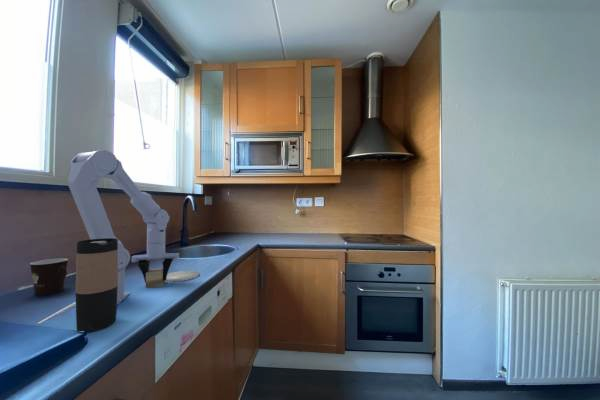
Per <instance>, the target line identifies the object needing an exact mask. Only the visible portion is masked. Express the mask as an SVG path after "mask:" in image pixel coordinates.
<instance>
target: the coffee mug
mask: <svg viewBox="0 0 600 400" xmlns="http://www.w3.org/2000/svg"><path fill="white" fill-rule="evenodd" d="M68 261H69V258H62V257H60V258H51V259H43V260H38V261H33V262H30V263H29V265H30V273H31V277H32V285H33V292H34V295H35V296H37V297H38V296H49V295H53V294H57V293H61V292H62V291H64V285H65V281H66V280H65V279H66V277H67V275H68V272H67V271H68V270H67V267H68Z"/></svg>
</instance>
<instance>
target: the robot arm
mask: <svg viewBox="0 0 600 400" xmlns="http://www.w3.org/2000/svg"><path fill="white" fill-rule="evenodd" d="M69 164H70V166H71V167H70V172H69V176H68V180H67V185H68V188H69V190H70V194H71V195H72V198H73V199H74V202H75V205H76V207H77V210H78V212H79V215H80V217H81V220H82V222H83V225H84V228H85V229H86V232H87V235H88V238H89V240H91V239H104V238H115V239H118V238H117V237H116V236H115V234H114V231H113V228H112V225H111V222H110V220H109V218H108V215H107V212H106V210H105V207H104V204H103V201H102V199H101V196H100V193H99V191H98V188H97V185H98V184H99V183H100V182H101V180H102V179H109V180H111V181H112V182H114V183H115V184H116V185H117V187H119V188H120V189H121V190H122V191H123V192H124V193H125V194H126V195H128V196H129V197H130V204H131V205H132V206H133V207H134V208H135V209H136V210H137V211H138V213H140V214H141V216H142V221H143V222H144V223H145V224H146V254H136V255H132V256H131V254H130V251H129V250H128V249H126V248H125V247H124V245H123V243H122V242H121V240H119V239H118V290H117V306H118V305H119V304H120V303H121V302H122V301H123V300H124V299H126V297H128V296H129V295H130V291H126V292H125V283H126V282H125V280H126V279H125V278H126V276H125V270H126V267H127V266H128V264H129V263H130V261H131V263H136V262H138V263H137V267H138V268H139V269H140V271H141V273H142V276H143V279H144V280H143V281H144V283H146V272H148V271H149V270H150V262H151V261H162V268H163V281H165V282H166V281H167V280H166V278H167V275H168V274H169V270H170V267H171V265H172V263H173V260H179V258H180V253H179V252H166V228H167V227H168V225H167V224H168V223H169V221H170V218H171V217H170V215H169V213H168V212H167V210H165V209H162V208H161V207H160V205H159V204H157V203H156V202H155V200H154V199H153V198H152V197H153V196H152V195H151V193H147V192H146V191H141V190H140V188H139V187H138V186H137V185H136V183H135V182H134V181H133V179H131V177H130V176H129V174H128V173H127V172H126V171H125V170H124V167H123V165H122V161H120V160H119V159H117V156H116V155H115V154H114V153H113V152H111V151H109V150H107V149H98V150H96V151H88V152H87V151H86V152H85V151H84V152H79V153H78V154H77V155H75V156H74V157H73V158H72V160H71V161H70V162H69Z"/></svg>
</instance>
